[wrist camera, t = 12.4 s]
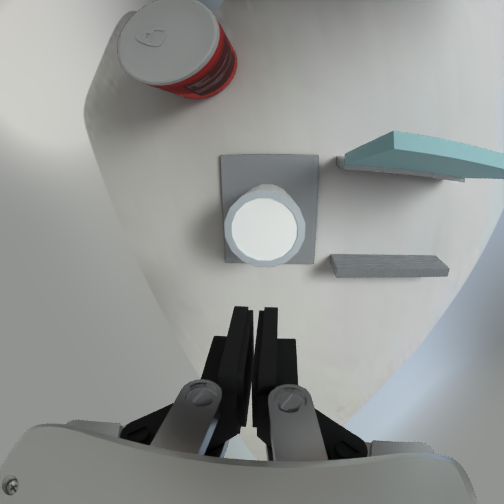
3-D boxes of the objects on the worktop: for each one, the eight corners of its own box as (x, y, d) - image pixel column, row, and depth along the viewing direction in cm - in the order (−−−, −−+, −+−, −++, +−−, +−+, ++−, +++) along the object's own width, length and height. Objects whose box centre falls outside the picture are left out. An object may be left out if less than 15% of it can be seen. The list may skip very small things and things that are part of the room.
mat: (221, 155, 30) (220, 155, 29) (318, 155, 29) (318, 155, 28) (226, 260, 34) (225, 262, 34) (313, 262, 33) (314, 263, 33)
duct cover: (345, 164, 25) (344, 153, 25) (465, 178, 24) (465, 168, 24) (394, 148, 13) (393, 130, 13) (544, 180, 12) (544, 167, 12)
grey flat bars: (336, 156, 29) (344, 159, 25) (448, 168, 27) (465, 173, 24) (330, 262, 33) (336, 277, 30) (434, 262, 32) (447, 276, 28)
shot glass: (275, 252, 33) (275, 282, 26) (223, 218, 32) (209, 240, 25) (312, 202, 30) (322, 221, 24) (258, 165, 29) (252, 173, 23)
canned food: (167, 40, 25) (121, 7, 15) (239, 33, 24) (220, -11, 14) (164, 102, 28) (112, 91, 18) (237, 98, 27) (216, 79, 17)
